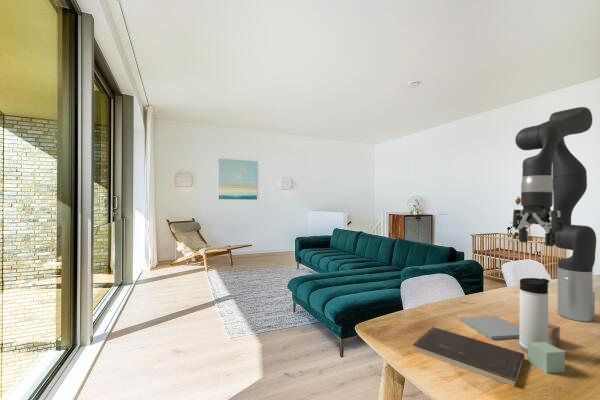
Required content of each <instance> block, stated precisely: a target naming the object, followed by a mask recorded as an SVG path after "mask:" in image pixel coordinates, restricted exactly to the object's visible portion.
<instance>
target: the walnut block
mask: <svg viewBox="0 0 600 400" xmlns="http://www.w3.org/2000/svg"><path fill="white" fill-rule="evenodd" d="M560 330H561V327H560V326H558V325H555V324H552V323H549V322H548V344H550V345H552V346H554V347H557V345H559V344H560V343H561V342H560V341H561V339H560V337H561V336H560V335H561V332H560Z"/></svg>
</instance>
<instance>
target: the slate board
mask: <svg viewBox="0 0 600 400" xmlns="http://www.w3.org/2000/svg"><path fill="white" fill-rule="evenodd" d="M459 321H460V322H461V323H462V324H465V325H467V326H468V327H470V328H471V329H473V330H475V331H476V332H478V333H480V334H481V335H483V336H485V337H487V338H488V339H490V340H506V339H507V340H508V339H519V326H518V325H515V324H513V323H511V322H510V321H508V320H506V319H504V318H502V317H499V316H497V315H486V316H469V317H467V316H465V317H459Z"/></svg>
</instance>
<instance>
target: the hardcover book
mask: <svg viewBox="0 0 600 400" xmlns="http://www.w3.org/2000/svg"><path fill="white" fill-rule="evenodd" d="M412 346H414V347H413V348H414V351H416V352H418V353H421V354H424V355H427V356H430V357H432V358H435V359H438V360H441V361H443V362H446V363H449V364H452V365H455V366H457V367H459V368H463V369H465V370H469V371H471V372H474V373H476V374H479V375H482V376H485V377H488V378H491V379H492V380H496V381H498V382H500V383H501V382H502V383H504V384H507V385H510V386H512V387H515V386H516V382H517V379H518V376H519V373H520V370H521V367H522V364H523V361H525V354H524V353H523V352H519V351H516V350H513V349H509V348H507V347H503V346H499V345H495V344H492V343H489V342H486V341H483V340H479V339H476V338H473V337H469V336H465V335H463V334H459V333H456V332H451V331H448V330H446V329H445V330H444V329H441V328H438V327H434V326H432V327H431V328H429V330H427V332H425V333H424V334H423V335H421V337H420V338H419V339H417V340H416V341H415V342H414V343H413V344H412Z"/></svg>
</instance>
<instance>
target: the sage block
mask: <svg viewBox="0 0 600 400" xmlns="http://www.w3.org/2000/svg"><path fill="white" fill-rule="evenodd" d="M565 354H566V352H565V351H564V350H563V349H561V348H558V347H557V346H552V345H550V344H548V343H547V342H533V343H528V352H527V362H528V363H529V364H531V365H532V366H534V367H535V368H537V369H539V370H541V371H542V372H544V373H546V374H555V373H565V372H566V370H565V367H566V365H565V364H566V363H565V362H566V357H565V356H566V355H565Z"/></svg>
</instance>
